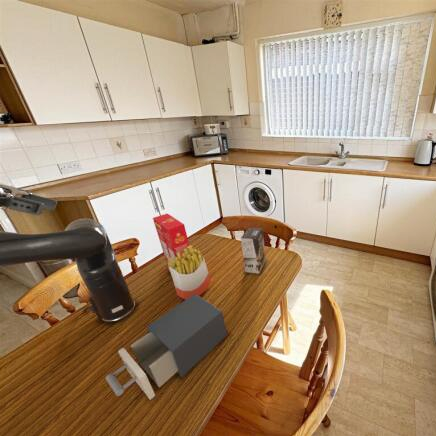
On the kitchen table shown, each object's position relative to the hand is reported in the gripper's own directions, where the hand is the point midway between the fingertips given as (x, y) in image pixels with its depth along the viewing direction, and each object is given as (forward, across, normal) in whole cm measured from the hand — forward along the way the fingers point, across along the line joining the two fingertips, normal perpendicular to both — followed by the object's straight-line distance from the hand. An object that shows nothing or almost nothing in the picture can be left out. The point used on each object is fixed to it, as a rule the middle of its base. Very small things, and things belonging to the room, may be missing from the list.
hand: (49, 207), depth 45 cm
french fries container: (+41, -25, -21) cm, 52 cm away
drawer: (+30, -1, -33) cm, 45 cm away
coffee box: (+62, -26, -7) cm, 67 cm away
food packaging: (+38, -37, -20) cm, 57 cm away
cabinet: (+38, -5, -28) cm, 48 cm away
